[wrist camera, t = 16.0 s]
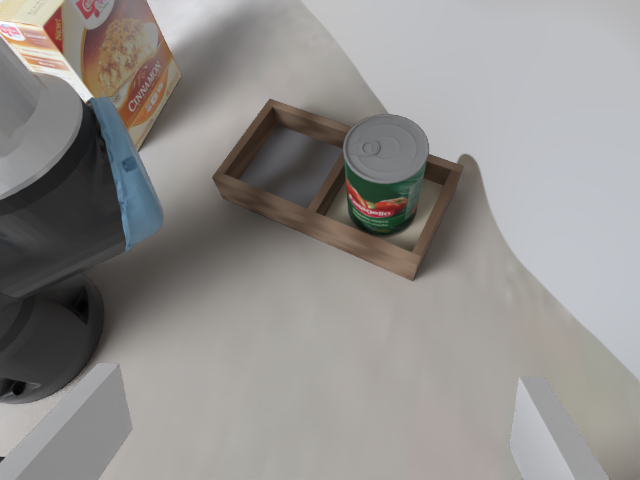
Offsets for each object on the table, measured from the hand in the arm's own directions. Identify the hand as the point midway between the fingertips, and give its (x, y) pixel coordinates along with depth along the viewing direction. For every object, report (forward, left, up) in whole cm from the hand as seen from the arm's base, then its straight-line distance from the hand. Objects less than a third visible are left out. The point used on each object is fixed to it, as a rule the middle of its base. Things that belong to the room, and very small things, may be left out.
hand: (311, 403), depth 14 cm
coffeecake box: (-45, +25, -30) cm, 59 cm away
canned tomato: (-7, +23, -29) cm, 38 cm away
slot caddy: (-13, +24, -30) cm, 40 cm away
